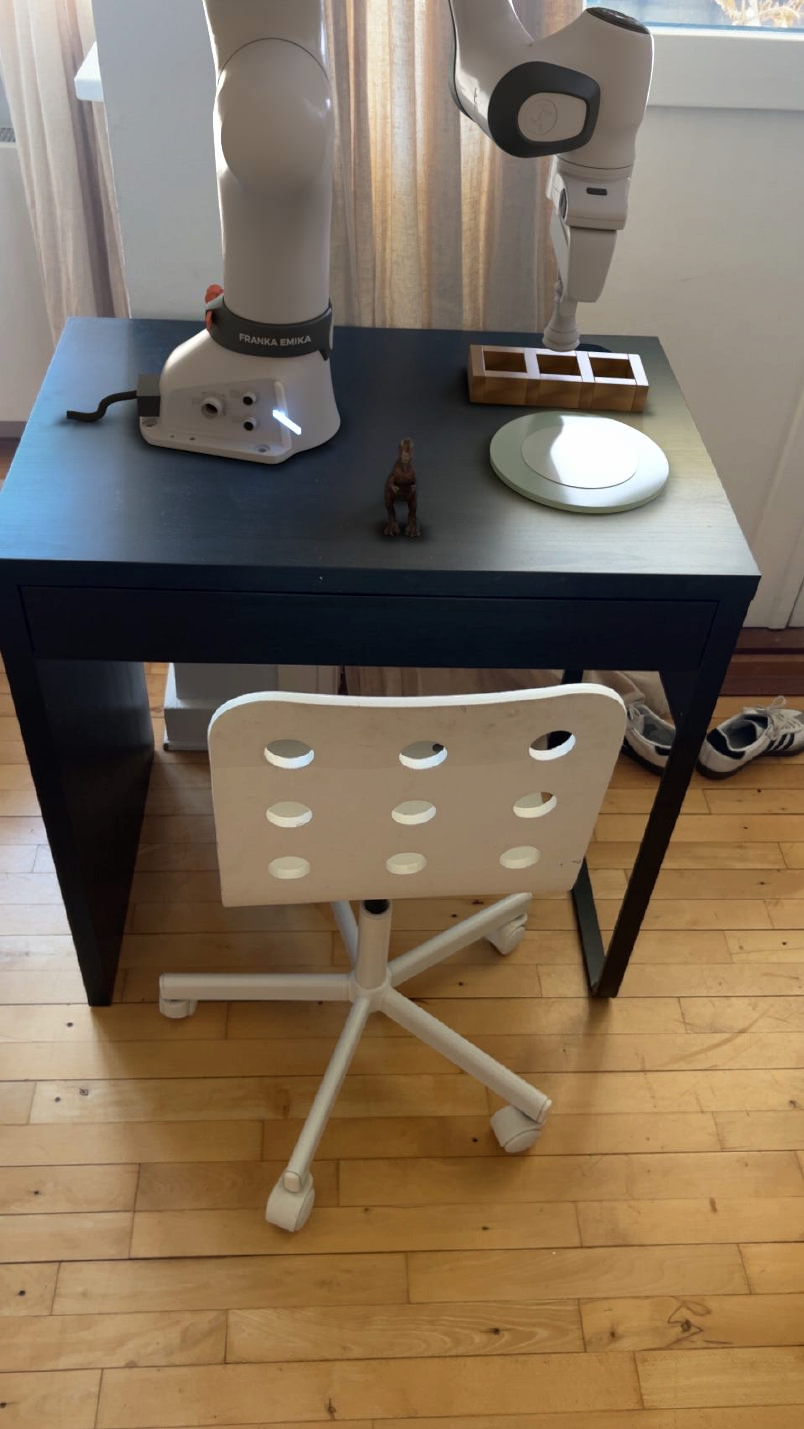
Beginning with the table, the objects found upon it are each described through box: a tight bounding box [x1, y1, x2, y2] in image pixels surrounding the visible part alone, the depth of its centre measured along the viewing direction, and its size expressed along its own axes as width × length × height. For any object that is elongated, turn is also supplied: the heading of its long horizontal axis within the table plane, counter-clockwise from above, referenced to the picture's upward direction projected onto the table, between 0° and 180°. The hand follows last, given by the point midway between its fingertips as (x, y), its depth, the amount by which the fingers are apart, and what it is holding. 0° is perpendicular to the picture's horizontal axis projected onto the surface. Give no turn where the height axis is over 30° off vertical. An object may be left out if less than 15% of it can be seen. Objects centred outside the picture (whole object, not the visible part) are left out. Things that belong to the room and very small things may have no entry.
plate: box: [488, 410, 670, 514], centre depth 130 cm, size 20×20×1 cm
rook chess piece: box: [541, 276, 581, 352], centre depth 135 cm, size 4×4×8 cm
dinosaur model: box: [383, 437, 421, 538], centre depth 117 cm, size 4×12×15 cm
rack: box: [466, 344, 650, 413], centre depth 141 cm, size 21×8×4 cm, turn 91°
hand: (564, 306), depth 135 cm, fingers closed on rook chess piece, 3 cm apart
